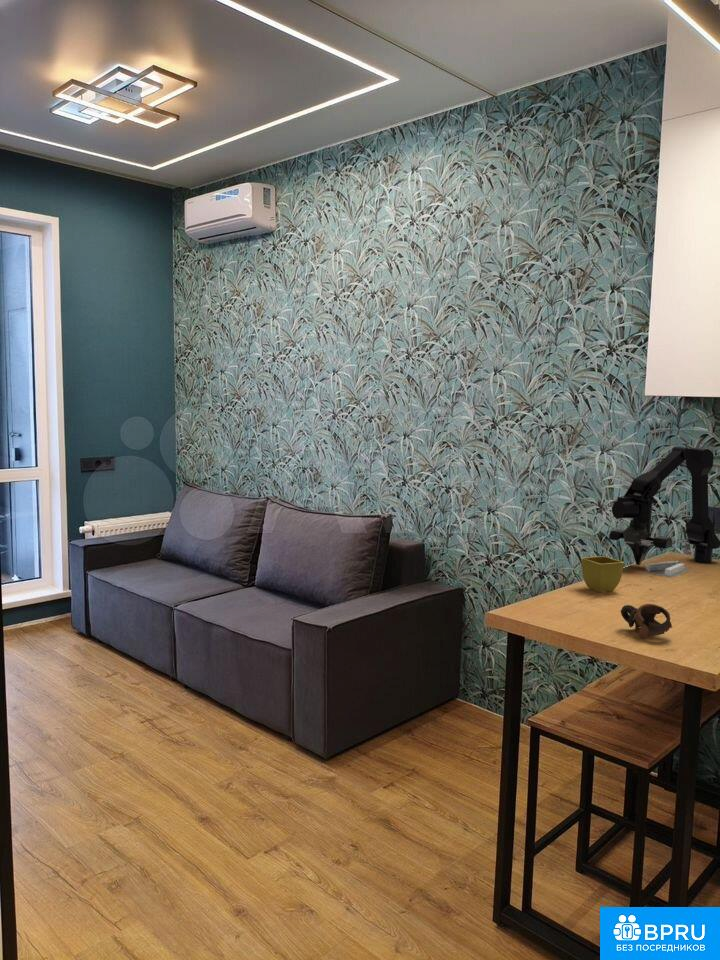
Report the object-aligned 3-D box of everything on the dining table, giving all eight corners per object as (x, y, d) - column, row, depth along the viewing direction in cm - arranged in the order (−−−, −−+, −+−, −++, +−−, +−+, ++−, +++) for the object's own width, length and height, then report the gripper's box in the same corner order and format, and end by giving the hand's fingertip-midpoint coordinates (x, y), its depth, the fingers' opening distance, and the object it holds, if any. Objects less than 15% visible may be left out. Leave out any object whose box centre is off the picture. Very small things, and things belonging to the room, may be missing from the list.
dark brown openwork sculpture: (672, 633, 180) (679, 610, 175) (658, 659, 175) (665, 635, 170) (623, 612, 186) (629, 588, 181) (608, 636, 181) (614, 612, 176)
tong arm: (676, 566, 244) (676, 560, 244) (680, 567, 243) (681, 561, 242) (645, 569, 238) (646, 563, 238) (650, 571, 236) (650, 564, 236)
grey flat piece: (663, 567, 248) (664, 558, 248) (691, 572, 242) (691, 563, 241) (643, 575, 236) (644, 565, 236) (672, 580, 230) (672, 571, 230)
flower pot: (578, 587, 219) (580, 557, 218) (601, 585, 222) (604, 555, 221) (598, 595, 211) (600, 564, 210) (622, 592, 214) (625, 562, 213)
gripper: (603, 515, 241) (599, 563, 243) (660, 524, 228) (656, 574, 230) (618, 512, 249) (614, 558, 251) (674, 520, 236) (670, 568, 238)
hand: (638, 564), depth 242 cm, fingers closed
